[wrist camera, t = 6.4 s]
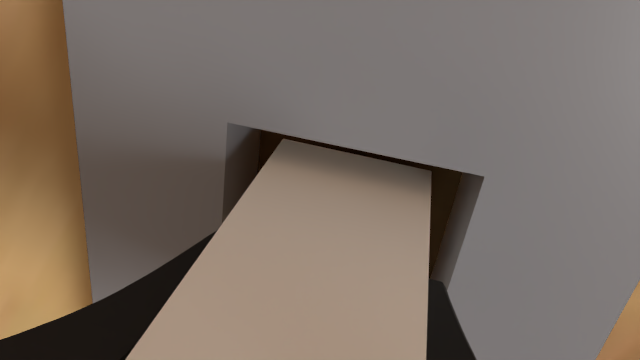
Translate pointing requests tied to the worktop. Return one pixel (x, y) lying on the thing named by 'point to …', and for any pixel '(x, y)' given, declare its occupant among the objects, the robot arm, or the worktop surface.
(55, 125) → the worktop surface
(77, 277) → the worktop surface
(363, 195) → the square peg
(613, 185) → the socket plate
